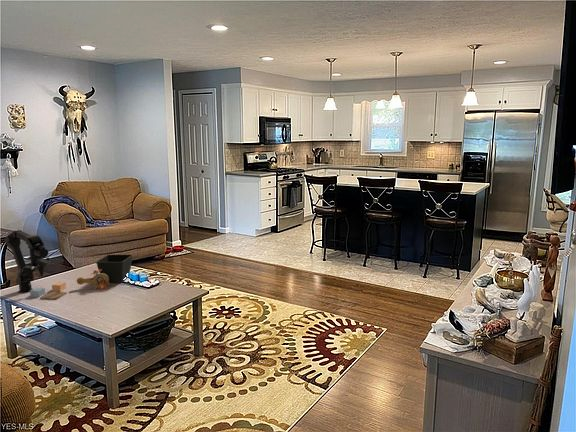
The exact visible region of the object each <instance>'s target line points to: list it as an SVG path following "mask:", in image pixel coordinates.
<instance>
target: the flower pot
mask: <svg viewBox="0 0 576 432" xmlns="http://www.w3.org/2000/svg"><path fill="white" fill-rule="evenodd" d="M132 261H133V254H107V255H105V256H103V257H102V258H100V259H99V260H97V261H95V263H96V267H97V269H98V270H101V269H102V270H101V271H99V274H100V273H104V274H106V275H108V277H109V284H115V283H116V284H118V283H119V284H121V283H123V282H124V281H123V279H124V276H125V275H126V274H127V273H129V274H130V273H131V272H130V271H131V268H132ZM98 270H97V271H98ZM122 281H123V282H122Z"/></svg>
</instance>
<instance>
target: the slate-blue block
mask: <svg viewBox="0 0 576 432" xmlns="http://www.w3.org/2000/svg"><path fill="white" fill-rule="evenodd" d="M44 294H45V295H46V291H45V287H34V288H32V290H30V291H29V295H30V298H38V297H39V298H40V296H41V297H42V295H43V296H44Z"/></svg>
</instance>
